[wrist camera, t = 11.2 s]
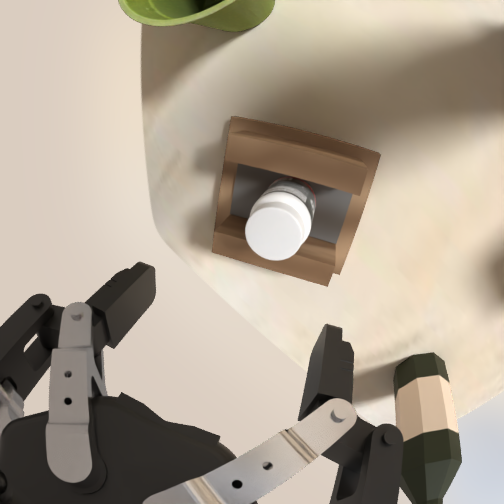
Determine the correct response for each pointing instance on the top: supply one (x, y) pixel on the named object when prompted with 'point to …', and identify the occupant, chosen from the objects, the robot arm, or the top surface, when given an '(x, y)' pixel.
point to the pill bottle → (281, 219)
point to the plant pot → (200, 12)
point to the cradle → (307, 169)
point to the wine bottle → (426, 428)
